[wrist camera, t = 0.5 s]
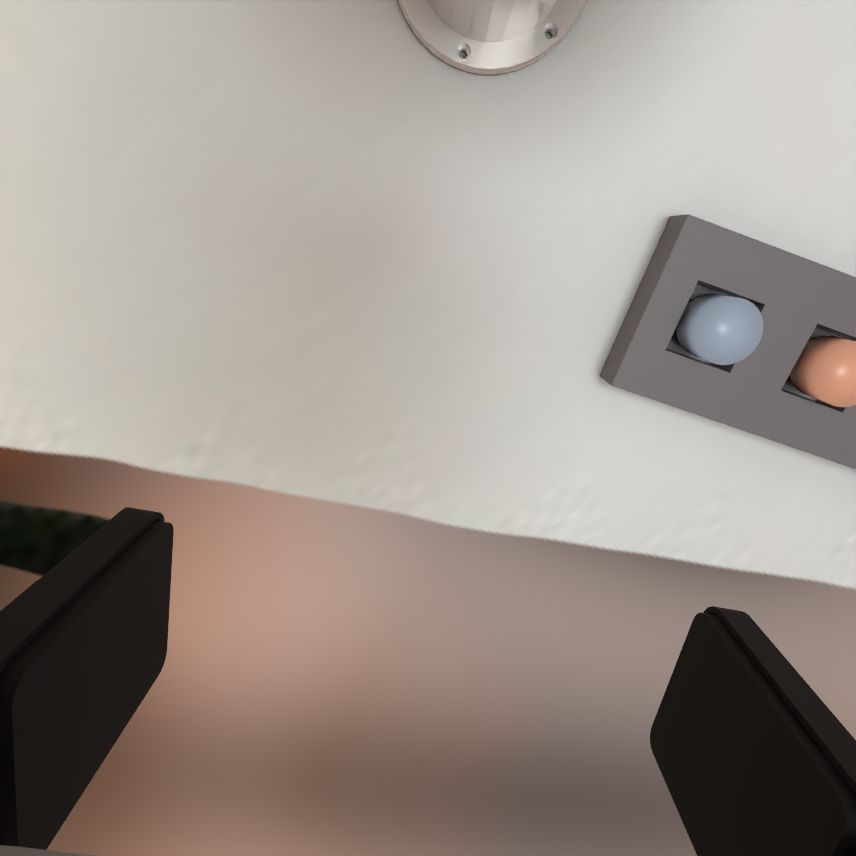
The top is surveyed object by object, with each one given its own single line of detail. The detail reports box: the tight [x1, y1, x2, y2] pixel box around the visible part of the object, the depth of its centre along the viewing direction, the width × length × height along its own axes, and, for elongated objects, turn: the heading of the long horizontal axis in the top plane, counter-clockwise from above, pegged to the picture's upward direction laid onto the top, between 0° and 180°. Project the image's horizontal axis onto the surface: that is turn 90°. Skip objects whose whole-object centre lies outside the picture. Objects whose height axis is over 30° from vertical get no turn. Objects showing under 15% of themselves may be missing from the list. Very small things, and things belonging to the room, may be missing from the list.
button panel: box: [600, 214, 856, 469], centre depth 41 cm, size 12×28×3 cm, turn 71°
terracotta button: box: [790, 336, 856, 407], centre depth 39 cm, size 4×4×3 cm
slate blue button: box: [676, 294, 763, 365], centre depth 39 cm, size 4×4×3 cm
